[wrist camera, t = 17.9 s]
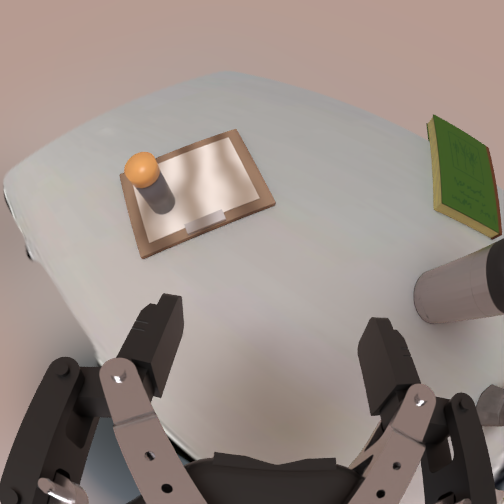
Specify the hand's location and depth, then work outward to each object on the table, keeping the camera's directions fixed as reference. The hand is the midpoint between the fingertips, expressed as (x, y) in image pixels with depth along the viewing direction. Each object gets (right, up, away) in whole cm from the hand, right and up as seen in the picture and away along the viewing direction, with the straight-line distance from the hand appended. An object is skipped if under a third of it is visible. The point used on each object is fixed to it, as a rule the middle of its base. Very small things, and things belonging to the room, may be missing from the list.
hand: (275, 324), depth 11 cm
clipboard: (-11, +13, +33) cm, 37 cm away
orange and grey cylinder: (-15, +11, +31) cm, 36 cm away
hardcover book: (+46, +20, +36) cm, 62 cm away
